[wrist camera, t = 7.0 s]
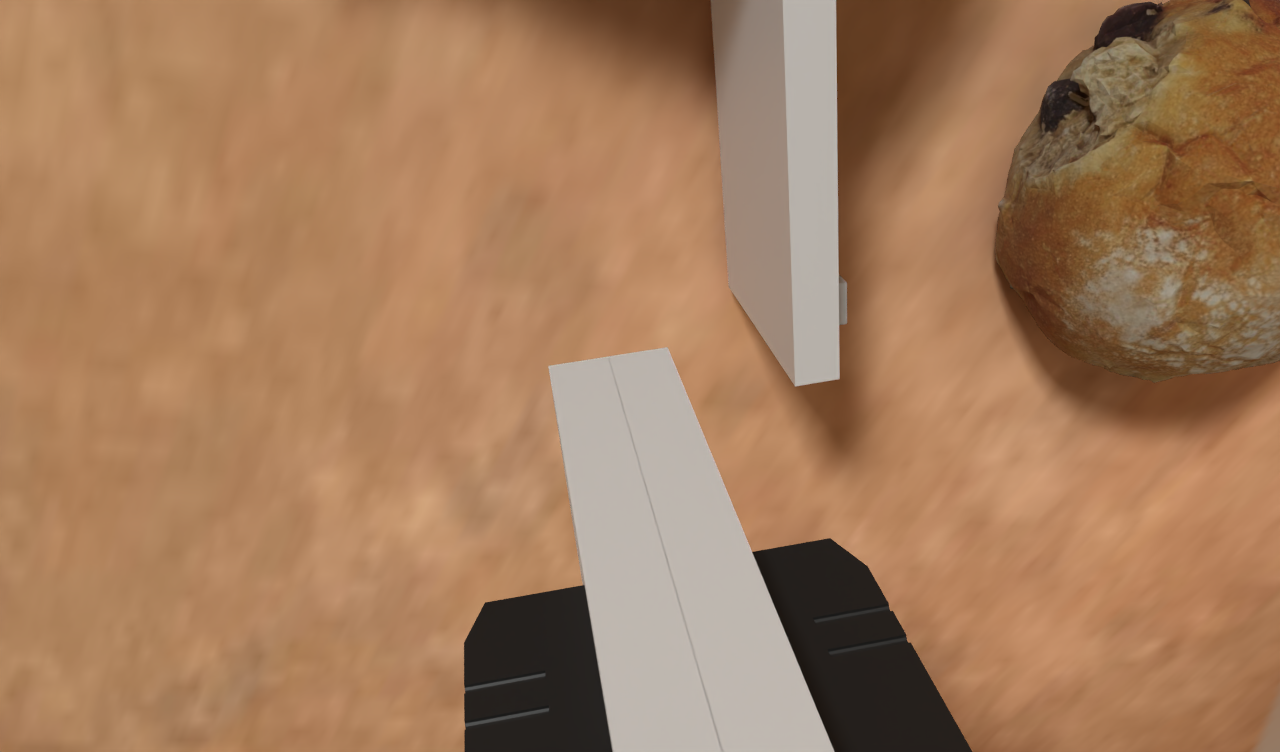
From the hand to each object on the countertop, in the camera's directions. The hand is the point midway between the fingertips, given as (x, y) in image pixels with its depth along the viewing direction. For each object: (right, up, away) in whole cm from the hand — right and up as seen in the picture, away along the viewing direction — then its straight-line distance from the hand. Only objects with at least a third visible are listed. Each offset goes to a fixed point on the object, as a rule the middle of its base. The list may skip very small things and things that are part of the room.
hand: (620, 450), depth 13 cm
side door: (+3, +8, +12) cm, 15 cm away
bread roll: (+14, +7, +16) cm, 22 cm away
